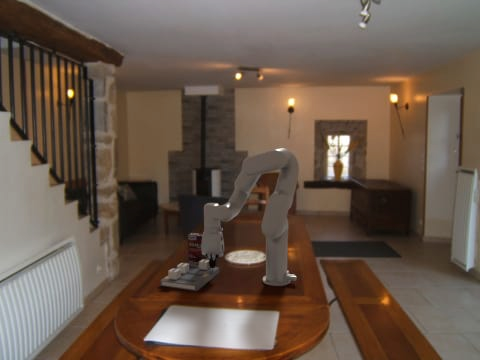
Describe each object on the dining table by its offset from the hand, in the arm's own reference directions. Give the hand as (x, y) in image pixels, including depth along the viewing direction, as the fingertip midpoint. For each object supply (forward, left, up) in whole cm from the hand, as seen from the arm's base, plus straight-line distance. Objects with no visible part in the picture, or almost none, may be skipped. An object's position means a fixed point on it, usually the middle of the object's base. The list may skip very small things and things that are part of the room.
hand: (212, 267), depth 195 cm
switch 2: (+11, +8, -1) cm, 14 cm away
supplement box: (+13, -11, -4) cm, 18 cm away
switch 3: (+4, 0, -1) cm, 4 cm away
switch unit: (+7, +8, -4) cm, 12 cm away
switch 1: (+11, +16, -1) cm, 20 cm away
